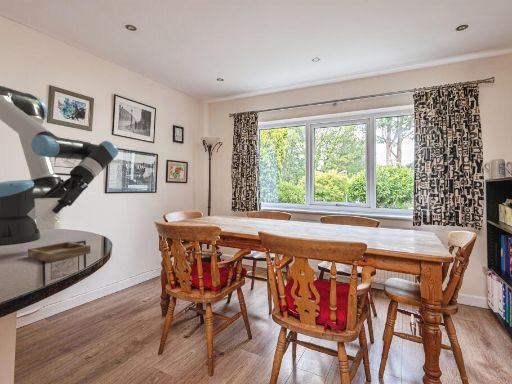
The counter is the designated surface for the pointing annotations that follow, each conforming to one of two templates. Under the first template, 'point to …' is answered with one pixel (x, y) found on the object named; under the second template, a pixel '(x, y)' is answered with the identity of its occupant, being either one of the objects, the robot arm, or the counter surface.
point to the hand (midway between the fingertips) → (37, 218)
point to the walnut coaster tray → (58, 251)
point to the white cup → (41, 208)
